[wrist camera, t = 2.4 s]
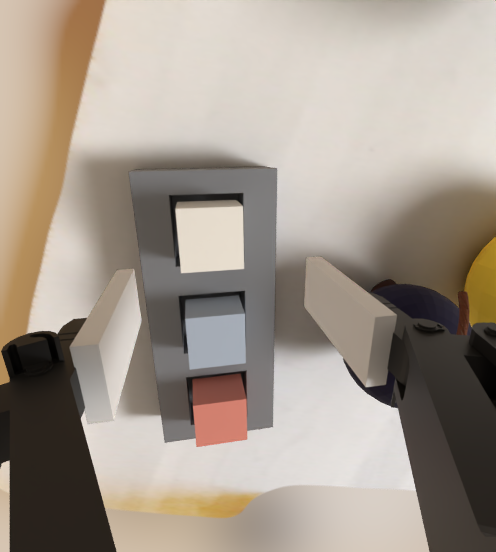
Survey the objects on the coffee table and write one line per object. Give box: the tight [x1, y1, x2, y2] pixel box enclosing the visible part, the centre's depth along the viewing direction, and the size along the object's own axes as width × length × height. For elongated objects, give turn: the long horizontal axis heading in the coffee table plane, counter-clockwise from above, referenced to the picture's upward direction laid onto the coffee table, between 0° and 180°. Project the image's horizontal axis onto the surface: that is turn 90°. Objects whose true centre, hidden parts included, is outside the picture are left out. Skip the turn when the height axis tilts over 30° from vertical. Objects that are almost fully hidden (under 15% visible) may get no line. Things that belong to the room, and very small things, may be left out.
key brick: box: [192, 374, 247, 447], centre depth 33 cm, size 5×5×4 cm
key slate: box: [185, 295, 246, 370], centre depth 30 cm, size 5×5×4 cm
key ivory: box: [175, 200, 244, 273], centre depth 27 cm, size 5×5×4 cm
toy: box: [343, 279, 472, 408], centre depth 32 cm, size 12×14×15 cm
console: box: [129, 167, 277, 443], centre depth 33 cm, size 28×12×4 cm, turn 1°
